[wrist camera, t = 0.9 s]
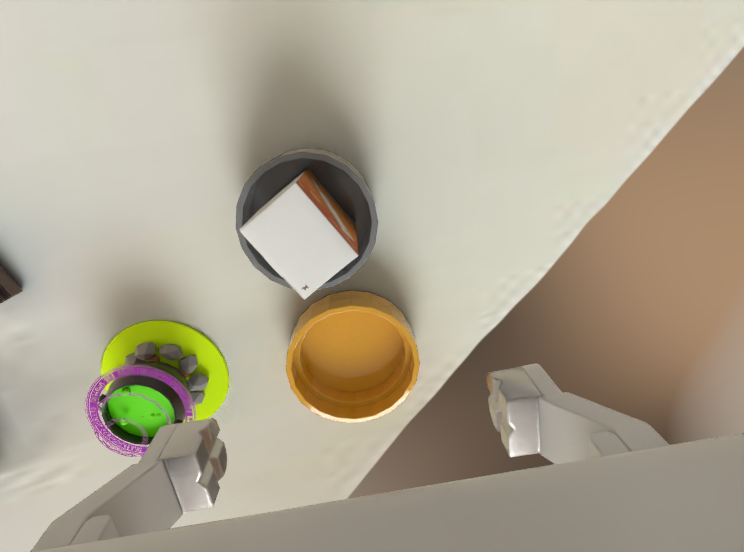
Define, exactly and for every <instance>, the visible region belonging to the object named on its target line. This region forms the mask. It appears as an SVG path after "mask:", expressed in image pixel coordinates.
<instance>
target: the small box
mask: <svg viewBox="0 0 744 552" xmlns="http://www.w3.org/2000/svg"><path fill="white" fill-rule="evenodd" d="M240 232H241V233H242V234H243V236H244V237H245V238H246V239H247V240H248V241H249V242H250V243H251V244H252V246H253V247H254V248H255V249H256V250H257V251H258V252H259V253H260V254H261V255H262V256H263V257H264V259H265V260H266V261H267V262H268V263H269V264H270V266H271V267H272V268H273V269H274V270H275V271H276V272H277V273H278V274H279V275H280V276H281V277H283V278H284V279H285V280H286V281H287V282H288V283H289V284H290V286H291V287H292V288H293V289H294V290H295V291H296V292H297V293H298V294H299V295H300V296H301V297H302V298H303V299H306V298H307V297H309V296H310V295H311V294H312V293H313V292H314V291H316V290H317V289H318V288H319V287H320V286H322V285H323V284H324V283H325V282H327V281H328V280H329V279H330V278H331V277H333V276H334V275H335V274H336V273H338V272H339V271H340V270H341V269H343V268H344V267H345V266H346V265H348V264H349V263H350V262H351V261H352V260H354V259H355V258H356V257H358V255H359V254H358V243H357V231H356V223H355V222H354V221H353V220H352V218H351V217H350V216H349V215H348V214H347V213H346V212H345V211H344V210H343V208H342V207H341V206H340V205H339V204H338V203H337V201H336V200H335V199H334V198H333V197H332V196H331V194H330V193H329V192H328V191H327V190H326V188H325V187H324V186H323V185H322V184H321V182H320V181H319V180H318V179H317V177H316V176H315V175H314V174H313V173H312V171H311V170H310V169H309V168H307V169H305V170H304V171H303V172H302V173H301V174H299V175H298V176H297V177H296V178H295V179H294V180H292V181H291V182H290V183H289V184H288V185H287V186H285V187H284V188H283V189H282V190H281V191H279V192H278V193H277V194H276V195H275V196H274V197H272V198H271V199H270V200H269V201H268V202H267V203H265V204H264V205H263V206H262V207H261V208H260V209H259V210H258V211H257V212H256V213H255V214H254V215H253V216H252V217H251V218H250V219H249V220H248V221H247V222H246V223H245V224H244V225H243V226H242V227H241V228H240Z"/></svg>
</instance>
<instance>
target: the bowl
mask: <svg viewBox="0 0 744 552" xmlns="http://www.w3.org/2000/svg"><path fill="white" fill-rule="evenodd" d="M419 365H420V362H419V356H418V350H417V345H416V342H415V339H414V335H413V332H412V329H411V327H410V325H409V323H408V322H407V320H406V318H405V316H404V315H403V313H402V312H401V311H400V310H399V309H398V308H397V307H395V306H394V305H393V304H392V303H391V302H390V301H388V300H386V299H384V298H382V297H380V296H377V295H375V294H373V293H369V292H360V291H345V292H340V293H334V294H331V295H328V296H326V297H324V298H322V299H320V300H319V301H317V302H315V303H313V304H312V305H311V306H310V307H309V308H308V309H307V310H306V311H305V312H304V313H303V314H302V315H301V316H300V318H299V320H298V322H297V324H296V326H295V328H294V330H293V332H292V336H291V340H290V344H289V348H288V352H287V363H286V372H287V376H288V379H289V383H290V386H291V389H292V390H293V392H294V393H295V394H296V396H297V397H298V399H299V400H300V401H301V403H302V404H303V405H305V406H306V407H307V408H309V409H310V410H312V411H313V412H314V413H316V414H317V415H319V416H322V417H325V418H328V419H330V420H333V421H337V422H350V423H355V422H356V423H358V422H363V421H369V420H374V419H377V418H379V417H381V416H383V415H385V414H387V413H389V412H391V411H393V410H394V409H395V408H396V407H397V406H398V405H400V404H401V403H402V402H403V401H404V400H405V399H406V398H407V397H408V395H409V393H410V392H411V390H412V388H413V386H414V385H415V383H416V381H417V375H418V370H419Z"/></svg>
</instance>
